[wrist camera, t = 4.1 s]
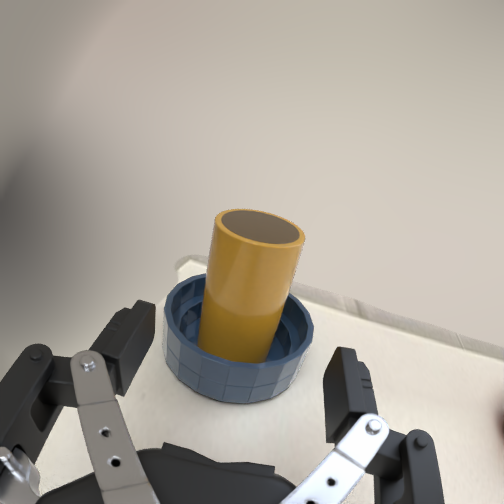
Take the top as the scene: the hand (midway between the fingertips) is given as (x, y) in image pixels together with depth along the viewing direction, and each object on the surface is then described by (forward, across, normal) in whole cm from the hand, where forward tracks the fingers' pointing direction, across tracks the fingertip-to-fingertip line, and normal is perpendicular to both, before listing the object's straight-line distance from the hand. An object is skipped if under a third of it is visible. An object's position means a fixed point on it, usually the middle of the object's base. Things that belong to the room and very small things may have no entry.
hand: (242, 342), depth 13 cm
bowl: (+9, 0, +10) cm, 14 cm away
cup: (+9, 0, +9) cm, 13 cm away
